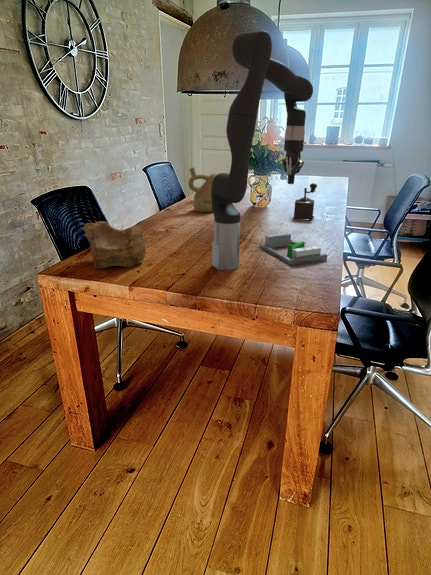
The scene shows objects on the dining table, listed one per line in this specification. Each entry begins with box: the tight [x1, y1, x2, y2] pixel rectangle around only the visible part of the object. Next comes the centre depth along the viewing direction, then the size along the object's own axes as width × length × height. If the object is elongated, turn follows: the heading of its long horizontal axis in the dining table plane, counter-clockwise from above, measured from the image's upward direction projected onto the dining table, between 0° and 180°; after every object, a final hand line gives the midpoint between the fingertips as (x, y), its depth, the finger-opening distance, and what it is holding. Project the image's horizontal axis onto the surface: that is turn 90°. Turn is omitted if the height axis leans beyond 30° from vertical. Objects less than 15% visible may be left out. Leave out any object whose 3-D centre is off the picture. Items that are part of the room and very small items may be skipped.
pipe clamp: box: [286, 241, 306, 259], centre depth 153 cm, size 11×4×5 cm, turn 145°
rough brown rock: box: [83, 220, 147, 270], centre depth 138 cm, size 23×17×15 cm
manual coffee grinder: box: [293, 183, 318, 221], centre depth 211 cm, size 16×11×18 cm
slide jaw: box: [264, 232, 292, 249], centre depth 163 cm, size 11×3×5 cm, turn 113°
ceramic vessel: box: [187, 167, 218, 213], centre depth 223 cm, size 17×20×25 cm
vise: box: [259, 239, 328, 267], centre depth 154 cm, size 16×25×5 cm, turn 23°
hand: (290, 183), depth 155 cm, fingers closed
